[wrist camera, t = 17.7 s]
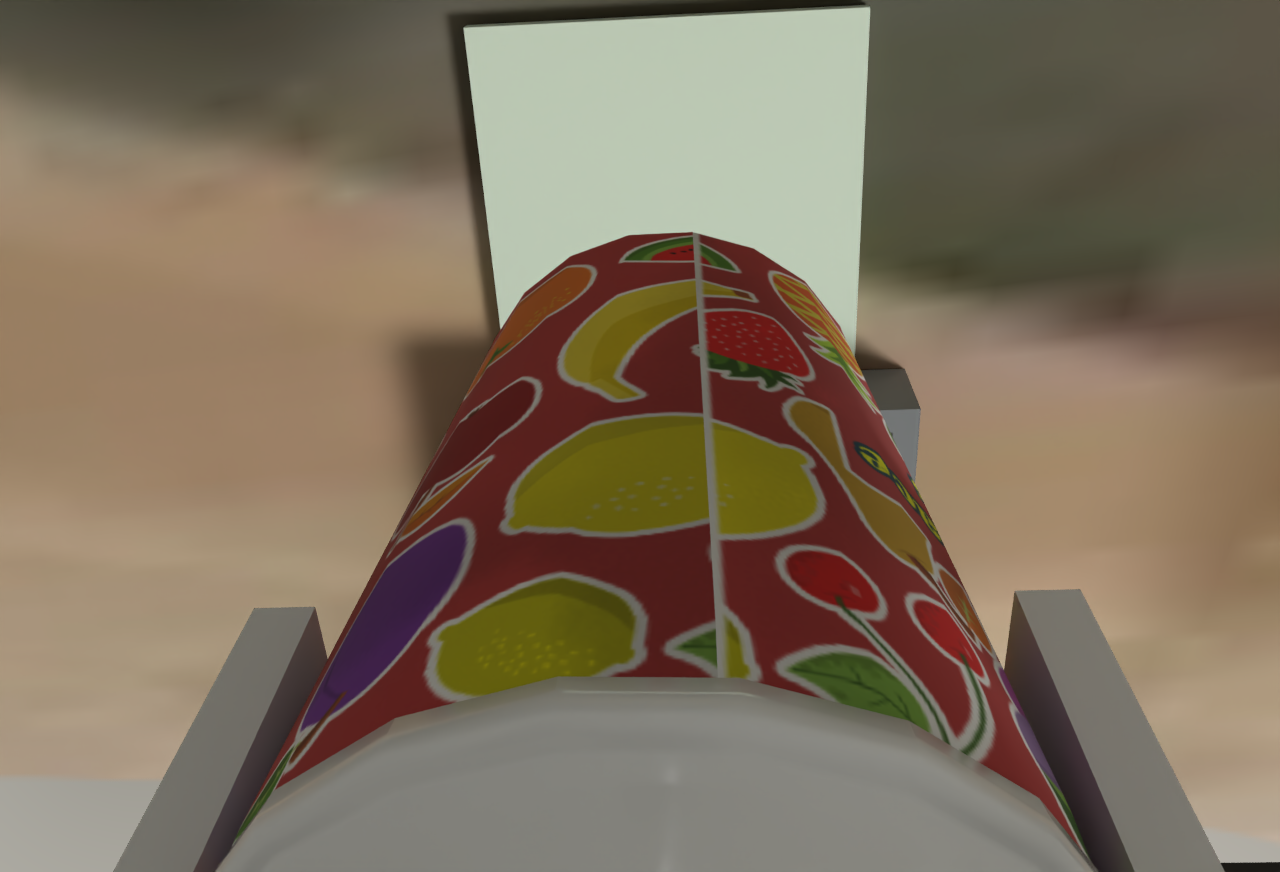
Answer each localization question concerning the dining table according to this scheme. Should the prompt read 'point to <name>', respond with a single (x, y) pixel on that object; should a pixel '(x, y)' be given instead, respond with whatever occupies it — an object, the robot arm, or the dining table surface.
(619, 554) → the smoothie
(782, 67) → the mat
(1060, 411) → the dining table surface
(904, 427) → the socket
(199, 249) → the dining table surface
